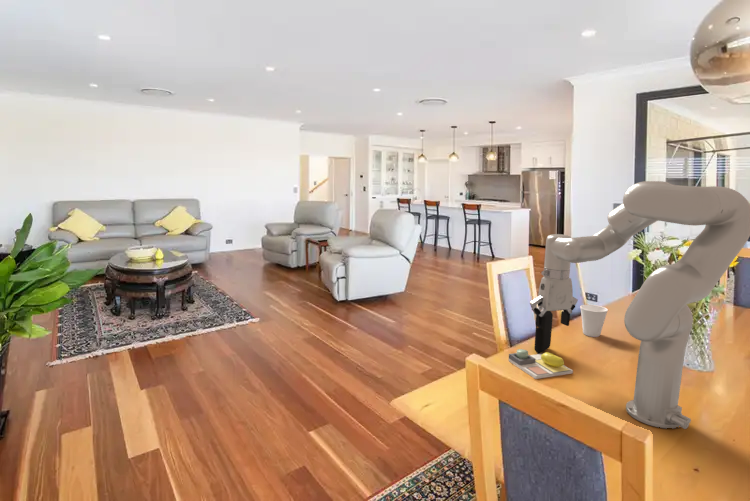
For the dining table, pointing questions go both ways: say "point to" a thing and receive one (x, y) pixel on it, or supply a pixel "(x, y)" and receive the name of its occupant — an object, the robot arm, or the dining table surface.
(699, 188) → the robot arm
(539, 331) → the carrying case or bag
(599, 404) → the dining table surface
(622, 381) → the dining table surface
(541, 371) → the picture board
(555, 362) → the lemon
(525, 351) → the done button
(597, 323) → the cup
